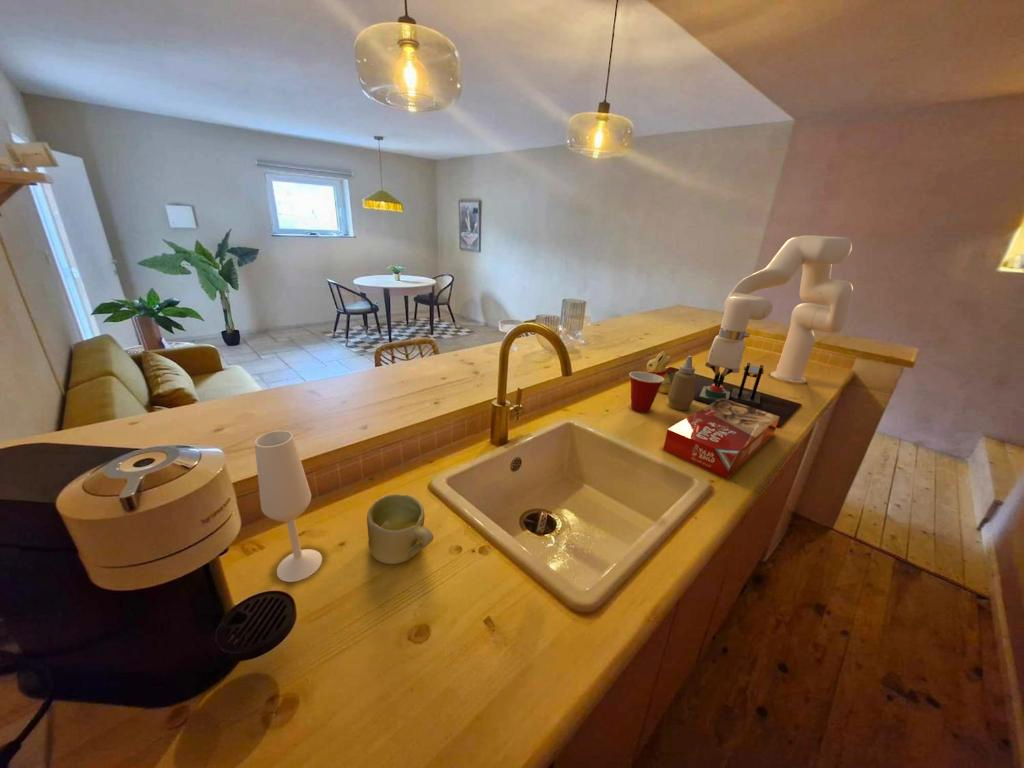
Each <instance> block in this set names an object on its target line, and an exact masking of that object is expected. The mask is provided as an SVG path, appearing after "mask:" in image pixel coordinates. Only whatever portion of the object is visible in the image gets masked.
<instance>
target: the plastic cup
mask: <svg viewBox="0 0 1024 768" xmlns="http://www.w3.org/2000/svg"><path fill="white" fill-rule="evenodd" d="M646 372H647V371H631V372H629V375H628V376H629V378H630V407H631V410H632V411H633V412H636V413H638V414H647V413H649V412H650V410H651V408H652V406H653V403H654V402H655V399H656V397H657V395H658V392H659V391H658V390H659V388H660V385H661V384H662V382H663V381H664V378H663V377H661V376H658V375H656V374H652V373H646Z"/></svg>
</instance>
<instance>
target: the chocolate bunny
mask: <svg viewBox="0 0 1024 768" xmlns="http://www.w3.org/2000/svg"><path fill="white" fill-rule="evenodd" d="M671 360H672V357H671V356H670V355H669V353H668V352H667V350H661V351H660V352H659V353H658V354H657V355H656V357H655V358H652V359H650V360H648V362H647V363H646V370H647V371H645V372H646V373H652V374H656V375H658V376H661V377H663V378H664V381H663V382H662V384H661V385H660V388H659V390H658V392H660V393H662V394H668V393H669V390H670V387H671V378H670V377H669V373H668V370H667V369H666V367H667V365H668V364H669V363H670V362H671Z"/></svg>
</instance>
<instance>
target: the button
mask: <svg viewBox="0 0 1024 768" xmlns="http://www.w3.org/2000/svg"><path fill="white" fill-rule="evenodd" d="M717 385H718V384H717ZM710 386H711V390H713V391H717V392H722V389H724V386H723V385H722V384H720V387H718V386H715V383H712V384H711V385H710Z"/></svg>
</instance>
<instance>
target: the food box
mask: <svg viewBox="0 0 1024 768" xmlns="http://www.w3.org/2000/svg"><path fill="white" fill-rule="evenodd" d="M779 420H780V415H776V414H774V413H771V412H767V411H764V410H761V409H758V408H755V407H752V406H748V405H746V404H742V403H739V402H736V401H733V400H730V399H729V400H728V399H724V398H720V399H718V400H717V401H715V402H713V403H710V404H708V405H707V406H705V407H703V408H701V409H700V410H698V411H696V412H695V413H693V414H691V415H689V416H688V417H686V418H684V419H682V420H681V421H679V422H677V423H675V424H674V425H672V426H671V427H669V428H667V431H666V435H665V440H664V444H663V449H662V450H663V451H665V452H667V453H669V454H671V455H674V456H675V457H678V458H680V459H682V460H684V461H687V462H689V463H691V464H693V465H695V466H697V467H700V468H701V469H704V470H705V471H708V472H710V473H712V474H714V475H717V476H719V477H721V478H723V479H725V480H727V479H728V478H729V477H730V476H731V475H732V474H733V473H735V472H736V471H737V470H738V469H740V467H741V466H742V465H743V464H744V463H746V462H747V461H748V459H750V458H751V457H752V456H753V455H754V454H755V453H756V452H757V451H758V450H759V449H761V448H762V447H763V446H764V445H765V444H766V443H767V442H768V441H769V440H770V439H771V438H772V437H774V435H775V431H776V430H777V429H776V428H777V426H778V424H779Z"/></svg>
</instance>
